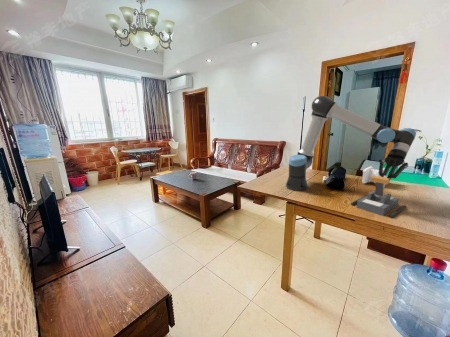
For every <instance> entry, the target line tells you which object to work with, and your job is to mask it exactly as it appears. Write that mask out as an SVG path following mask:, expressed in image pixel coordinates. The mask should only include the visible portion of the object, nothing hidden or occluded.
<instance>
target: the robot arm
mask: <svg viewBox="0 0 450 337" xmlns="http://www.w3.org/2000/svg"><path fill="white" fill-rule="evenodd" d="M311 110H312V111H311V115H310V117H312V119H311V121H310V124H309V127H308V130H307V132H306V135H305V137H304V140H303V144H302V146H301V148H300V149H299V150H298V152H297V154H294V155H293V154H292V155H291V156H290V157H289V159H288V178H287V180H286V183H285V187H287V188H286V189H288V188H289V189H288V190H290V189H292V190H291V191H296V190H298V192H301V191H306V190H308V186H309V184H308V182H307V179H306V177H307V176H306V175H307V170H308V169H309V168H310V167H311V166H312V164H313V161H314V160H313V159H314V156H315V153H314V150H315V148H316V145H317V143H318V141H319V138H320V135H321V133H322V130H323V127H324V125H325V123H326V121H327V120H329V119H330V118H331V119H334V120H336V121H337V122H340V123H342V124H344V125H346V126H347V127H350V128H352V129H355V130H357V131H358V132H361V133H362V134H365V135H366V136H369V137H371V138H373V139H375V140H377V141H378V142H380V143H381V144H382V143H383V144H386V143H387V144H388V143H393V144H392V146H391V148H390V150H389V152H388V153H387V156H386V157H385V158H383V159H379V160H378V162H379V166H378V167H379V169H378V170H379V175H380V176H381V177H384V178H389V182H391V179H396V178H398V177H399V176H400V174H401V173H402V172H403V171H404V170H405V169H406V168H408V167H409V163H408V162H405V159H406V157H407V155H408V152H409V151H410V150H411V146H412V145H413V143H414V140H415V138H416V135H417V130H415V129H414V128H410V127H407V128H406V127H403V128H402V129H394V128H391V127H388V126H385V125H383V124H380V123H379V122H376V121H374V120H372V119H369V118H367V117H364V116H362V115H360V114H358V113H355V112H354V111H351V110H349V109H346V108H345V107H342V106H340V105H338V103H337V102H335V101H334V99H333V98H331V97H329V96H326V95H320V96H319V95H318V96H317V97H315V99H314V100H312V103H311ZM384 164H386V166H385V167H384ZM383 168H385V169H384V171H383ZM382 172H383V173H382ZM385 186H387V184H384V188H385Z"/></svg>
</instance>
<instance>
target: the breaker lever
mask: <svg viewBox="0 0 450 337" xmlns="http://www.w3.org/2000/svg"><path fill="white" fill-rule="evenodd" d="M371 181H373V182H372V183H374V182H376V183H375V194H374V197H375V198H379V199H381V197H382V196H384V195H385V194H384V188H385V187H384V184H386V185H388V184H389V183H390V181H389V178H384V177H379V176H372V177H371ZM371 181H370V182H371Z"/></svg>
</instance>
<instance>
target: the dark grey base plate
mask: <svg viewBox="0 0 450 337" xmlns="http://www.w3.org/2000/svg"><path fill="white" fill-rule="evenodd" d="M367 195H368V194H366V195H364V196H362V197H358V199H355V200H354V201H352V202H350V206H353V205H355V204H357V201H358V200H360V199H362V198H364V197H366V196H367ZM406 208H407V205H405V204H403V205H402V206H400V207H399V208H397V209H396V210H395V211H393V212H392V213H391V214H390V215H389V217H390V218H392V219H393V218H395V216H397V215H398V214H399V213H400V212H402V211H404V209H406Z"/></svg>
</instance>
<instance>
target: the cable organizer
mask: <svg viewBox="0 0 450 337" xmlns="http://www.w3.org/2000/svg"><path fill="white" fill-rule="evenodd" d="M384 169H385V167H383V171H384ZM382 173H383V172H382ZM372 176H379V177H381V176H380V175H379V169H374V166H368V167H366V168H364V169H363V170H362V178H361V179H362V180H361V183H362V184H367V183H370V182H372V183H374V184H375V185H376V182H373V181H371V177H372Z"/></svg>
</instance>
